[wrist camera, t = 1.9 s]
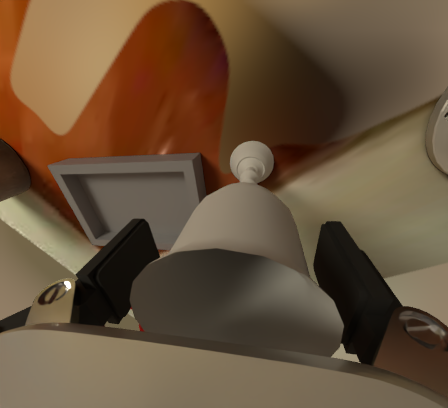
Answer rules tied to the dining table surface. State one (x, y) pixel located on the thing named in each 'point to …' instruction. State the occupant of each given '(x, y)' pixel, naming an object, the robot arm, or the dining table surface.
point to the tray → (132, 193)
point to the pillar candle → (12, 173)
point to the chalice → (239, 272)
